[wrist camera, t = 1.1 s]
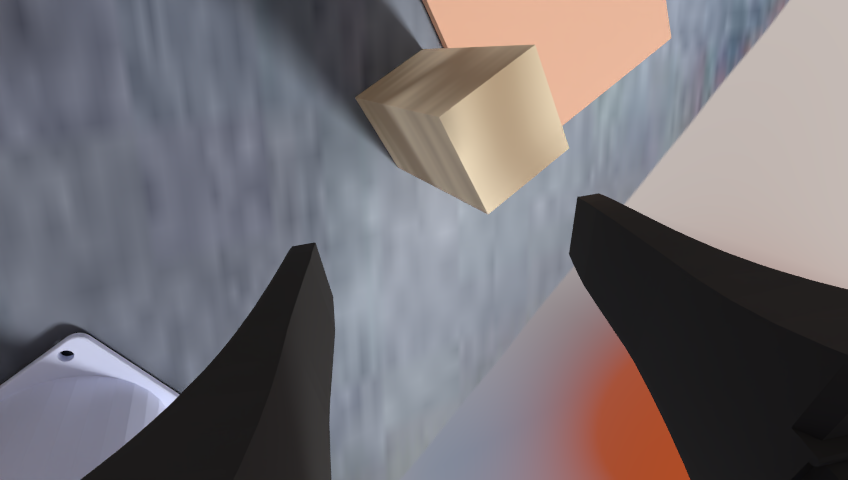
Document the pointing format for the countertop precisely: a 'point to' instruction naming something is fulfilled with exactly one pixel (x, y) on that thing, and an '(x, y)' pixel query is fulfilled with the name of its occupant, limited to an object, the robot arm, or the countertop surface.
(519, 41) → the terracotta mat
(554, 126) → the birch block
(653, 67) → the countertop surface
